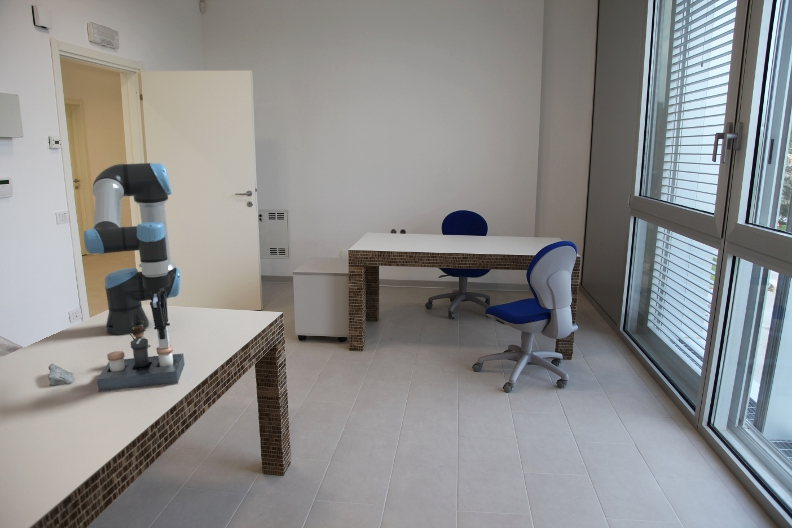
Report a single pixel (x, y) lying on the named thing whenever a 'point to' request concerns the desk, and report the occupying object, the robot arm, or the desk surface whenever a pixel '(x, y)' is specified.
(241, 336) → the desk surface
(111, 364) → the knob
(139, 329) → the toy
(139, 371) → the mount
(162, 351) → the knob
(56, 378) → the mineral specimen
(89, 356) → the desk surface
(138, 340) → the dial
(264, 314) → the desk surface
